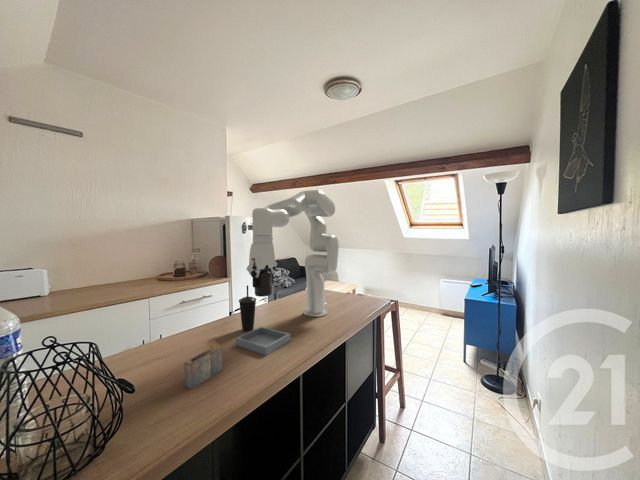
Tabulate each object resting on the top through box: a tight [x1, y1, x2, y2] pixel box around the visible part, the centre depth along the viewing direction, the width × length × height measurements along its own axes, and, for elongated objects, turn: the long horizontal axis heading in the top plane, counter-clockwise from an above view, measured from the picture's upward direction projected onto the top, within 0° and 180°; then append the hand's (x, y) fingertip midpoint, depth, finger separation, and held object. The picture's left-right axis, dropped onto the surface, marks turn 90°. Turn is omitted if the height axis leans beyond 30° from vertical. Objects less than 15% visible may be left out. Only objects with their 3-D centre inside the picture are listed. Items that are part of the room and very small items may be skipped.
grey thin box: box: [183, 339, 223, 390], centre depth 79 cm, size 11×3×10 cm, turn 154°
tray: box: [235, 325, 292, 357], centre depth 103 cm, size 14×16×3 cm
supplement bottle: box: [253, 265, 273, 298], centre depth 102 cm, size 7×7×12 cm
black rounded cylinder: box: [238, 285, 257, 333], centre depth 117 cm, size 8×8×20 cm
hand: (263, 285), depth 102 cm, fingers closed on supplement bottle, 6 cm apart
